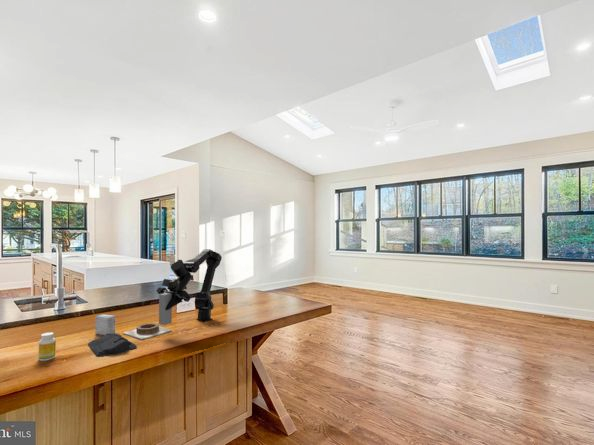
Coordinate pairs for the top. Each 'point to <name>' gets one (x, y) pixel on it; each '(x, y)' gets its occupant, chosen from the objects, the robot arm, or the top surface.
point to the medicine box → (105, 324)
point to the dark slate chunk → (110, 345)
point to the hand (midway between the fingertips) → (162, 309)
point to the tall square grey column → (164, 314)
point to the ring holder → (147, 331)
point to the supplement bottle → (47, 347)
